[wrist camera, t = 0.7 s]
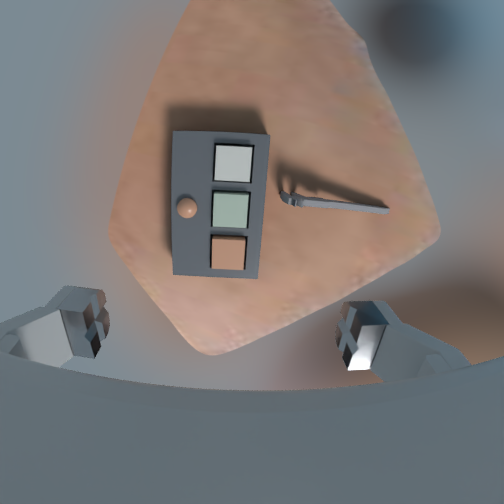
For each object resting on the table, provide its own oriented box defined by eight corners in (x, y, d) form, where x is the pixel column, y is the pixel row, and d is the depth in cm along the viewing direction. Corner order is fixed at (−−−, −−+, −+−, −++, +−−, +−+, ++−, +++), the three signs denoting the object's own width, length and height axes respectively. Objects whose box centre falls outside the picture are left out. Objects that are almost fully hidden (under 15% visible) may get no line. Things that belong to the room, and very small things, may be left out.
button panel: (178, 130, 44) (172, 131, 39) (267, 134, 45) (270, 135, 40) (177, 264, 53) (172, 276, 48) (256, 268, 54) (257, 280, 49)
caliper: (279, 196, 49) (285, 206, 43) (280, 190, 49) (286, 198, 43) (387, 213, 51) (403, 224, 45) (388, 207, 51) (405, 218, 45)
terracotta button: (213, 232, 49) (212, 238, 46) (244, 233, 49) (245, 240, 46) (212, 260, 51) (211, 268, 48) (242, 262, 51) (243, 270, 48)
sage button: (215, 189, 46) (214, 193, 43) (247, 191, 46) (248, 195, 43) (214, 220, 48) (212, 226, 45) (245, 222, 48) (246, 228, 45)
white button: (217, 144, 43) (216, 145, 40) (251, 146, 43) (252, 147, 41) (215, 176, 45) (214, 180, 42) (248, 178, 45) (249, 181, 43)
